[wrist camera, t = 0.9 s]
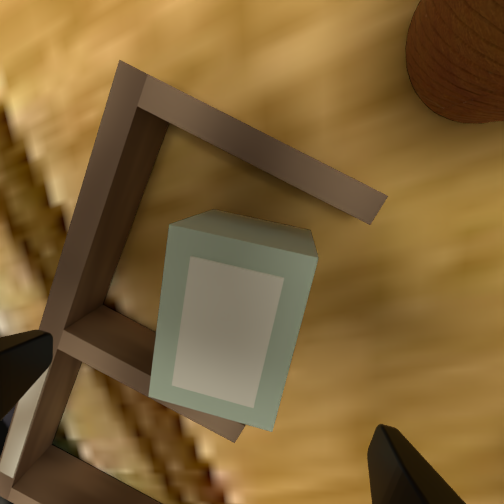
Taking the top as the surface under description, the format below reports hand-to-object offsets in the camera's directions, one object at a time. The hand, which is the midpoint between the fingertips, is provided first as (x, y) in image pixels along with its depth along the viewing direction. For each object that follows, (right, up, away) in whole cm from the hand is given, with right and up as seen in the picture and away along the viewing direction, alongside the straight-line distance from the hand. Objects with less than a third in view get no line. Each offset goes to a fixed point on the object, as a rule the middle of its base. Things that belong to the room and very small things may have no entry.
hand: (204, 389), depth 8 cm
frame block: (+1, +2, +8) cm, 8 cm away
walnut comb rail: (-3, -2, +9) cm, 10 cm away
